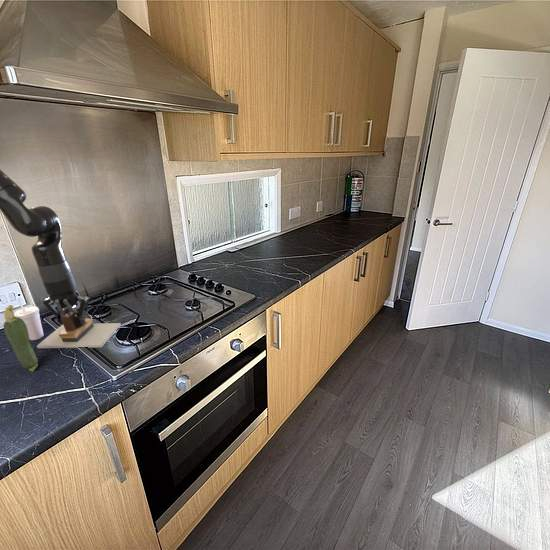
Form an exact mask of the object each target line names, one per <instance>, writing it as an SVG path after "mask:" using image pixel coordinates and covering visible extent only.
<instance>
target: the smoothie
mask: <svg viewBox="0 0 550 550" xmlns="http://www.w3.org/2000/svg"><path fill="white" fill-rule="evenodd" d="M17 301H18V304H19V306H20V309H18V310H16V311H15V312H13V313H14V316H15V317H18V318H21V319H22V320H23V321H24V322H25V324H26V327H27V330H28V334H29V341H36V340H39V339H41V338H43V337H44V335H45V334H44V330H43V326H42V321H41V316H40V309H39V307H38V306H34V305H32V306H26V307H24V305H23V302H22V300H21V298H17Z"/></svg>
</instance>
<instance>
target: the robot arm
mask: <svg viewBox="0 0 550 550" xmlns="http://www.w3.org/2000/svg"><path fill="white" fill-rule="evenodd" d="M26 199H27V193H26V192H25V190H23V189H22V187H20V186H19V185H18V184H17V183H16V182H15V181H14V180H13V179H12V178H11V177H9V176H8V175H7V174H6V173H5V172H4V171H3V170H1V169H0V212H1V214H2V215H3V216H4V217H5V219H6V220H7V222H8V223H9V224H10V226H11V227H12V228H13V229H14V230H15V231H16V232H17V233H19V234H21V235H23V236H25V237H29V238H33V237H34V238H35V237H37V240H36V242H35V243H34V244H33V245H32V246H31V253H32V256H33V259H34V261H35V264H36V266H37V270H38V274H39V277H40V279H41V281H42V284H43V287H44V289H45V291H46V294H47V295H48V298H45V299H44V300H43V301H42V304H43V305H44V306H45V307H46V308H47V309H48V310H49V311H50V312H51V313H52V314H53V315H54V316H55V317H58V316H59V317H60V318H61V317H62V316H64V315H65V314H66V313H67V312H69V311H70V312H72V314H73V316H74V319H75V322H76V325H77V327H81V326H82V325H83V324H84V319H83V317H82V315H84V314H85V313H87V312H88V309H89V305H90V304H89V303H90V296H88V295H86V296H83V295H81V294H80V293H79V291H78V290H77V288H78V285H77V283H76V279H75V276H74V273H73V271H72V268H71V265H70V263H69V261H68V259H67V257H66V254H65V251H64V248H63V243H62V242H63V241H62V240H63V239H62V237H63V236H62V225H61V220H60V217H59V216H58V214H57V213H56V212H55V210H53V209H52V208H50V207H49V206H46V205H39V206H34V207H30V208H29V207H27V206H26V205H25V204H24V202H25V201H26ZM76 311H77V312H76Z"/></svg>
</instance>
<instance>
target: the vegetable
mask: <svg viewBox="0 0 550 550" xmlns="http://www.w3.org/2000/svg"><path fill="white" fill-rule="evenodd" d="M4 309H5V310H4V312H3V317H4V319H5V321H4V323H3V332H4V334H5V336H6V338H7V340H8V342H9V344H10V346H11V348H12V350H13V352H14V354H15V356H16V358H17V360H18V362H19V363H20V365H21V367H23V368H24V369H25V370H28V371H31V372H35V370H36V369H37V367H38V366H39V364H38V363H39V360H38V358H37V356H36V353H35V351H34V349H33V348H32V347H33V346H32V345H31V342H30V339H29V334H28V330H27V327H26V324H25V322H24V321H23V320H22V319H21V318H18V317H15V316H14V313H15V312H14V311H15V310H16V308H15V307H14V305H12V304H9V305H8V306H6V307H5V308H4Z"/></svg>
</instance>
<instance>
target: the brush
mask: <svg viewBox="0 0 550 550" xmlns="http://www.w3.org/2000/svg"><path fill="white" fill-rule="evenodd" d="M76 312H77V311H76ZM82 317H83V319H84V324H83V325H82V326H81V327H77V325H76V322H75V319H74V316H73V314H72V312H70V311H69V312H67V313H66V314H65V315H64V316H62V317H61V316H60V321H61V323H62V325H64V328H65V330H64V331H62V332H61V333H60V334H59V336H60V338H62V341H63V342H78V341H79V340H80V339H81V338H82V337H83V336H84V335H85V334H86V333H87V332H88V331H89V330H90V329H91V328H92V327H94V325H93V324H94V320H93V318H91V317H90V318H85V315H84V314H83V315H82Z"/></svg>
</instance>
